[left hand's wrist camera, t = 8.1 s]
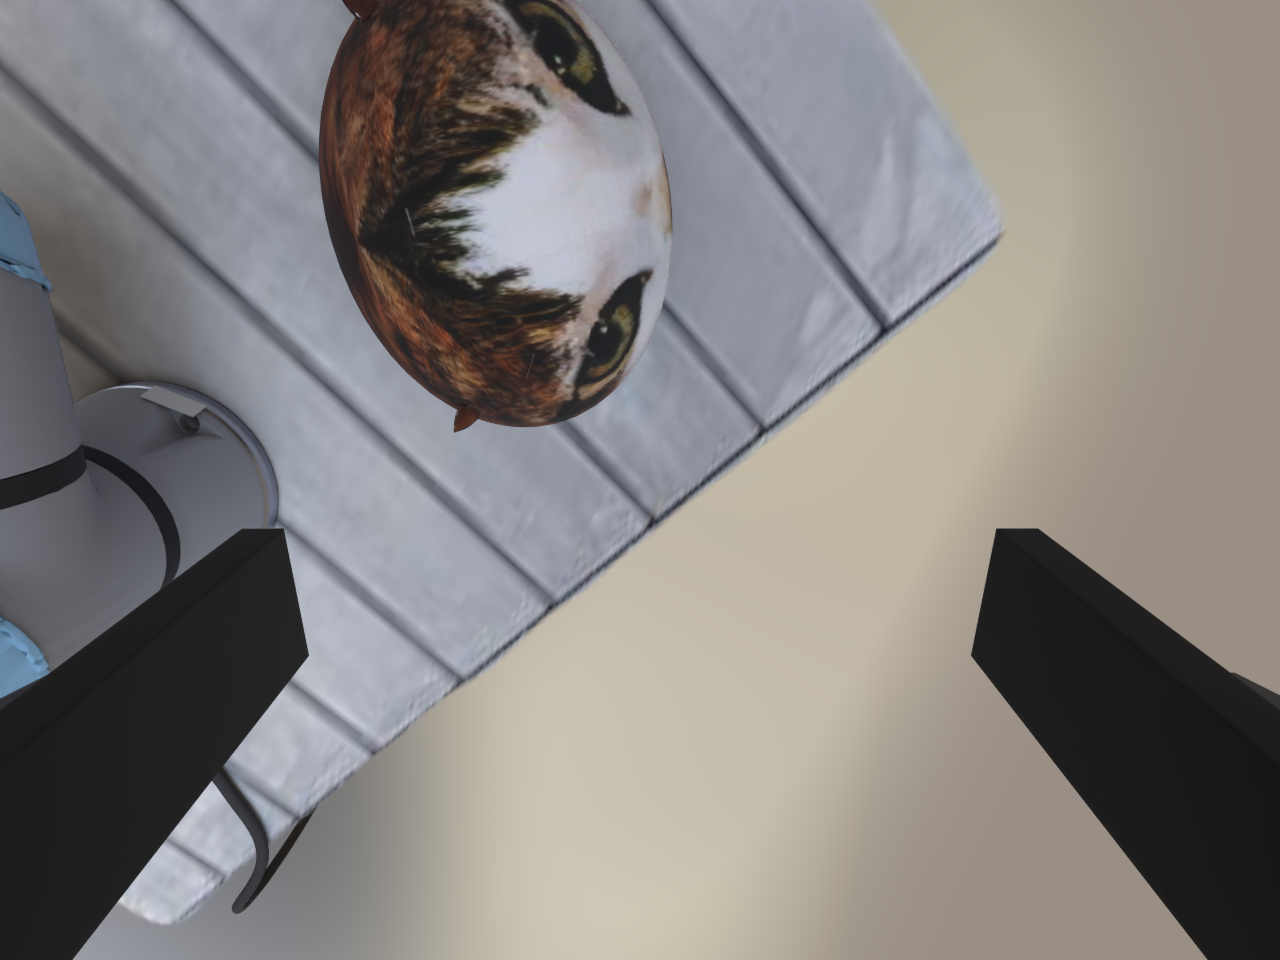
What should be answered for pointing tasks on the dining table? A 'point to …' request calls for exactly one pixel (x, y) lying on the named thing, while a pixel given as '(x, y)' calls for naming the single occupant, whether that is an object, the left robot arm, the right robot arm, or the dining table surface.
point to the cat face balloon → (496, 201)
